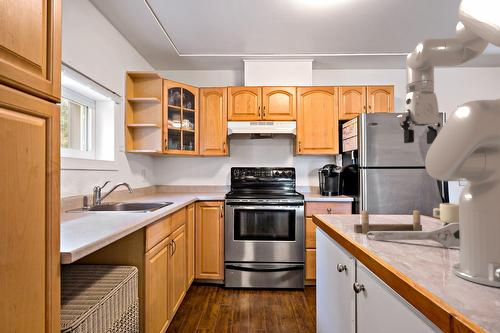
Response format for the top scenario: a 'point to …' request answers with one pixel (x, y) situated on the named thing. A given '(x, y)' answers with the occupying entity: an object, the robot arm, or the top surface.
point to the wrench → (422, 235)
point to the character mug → (448, 215)
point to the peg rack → (387, 225)
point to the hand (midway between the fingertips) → (420, 143)
